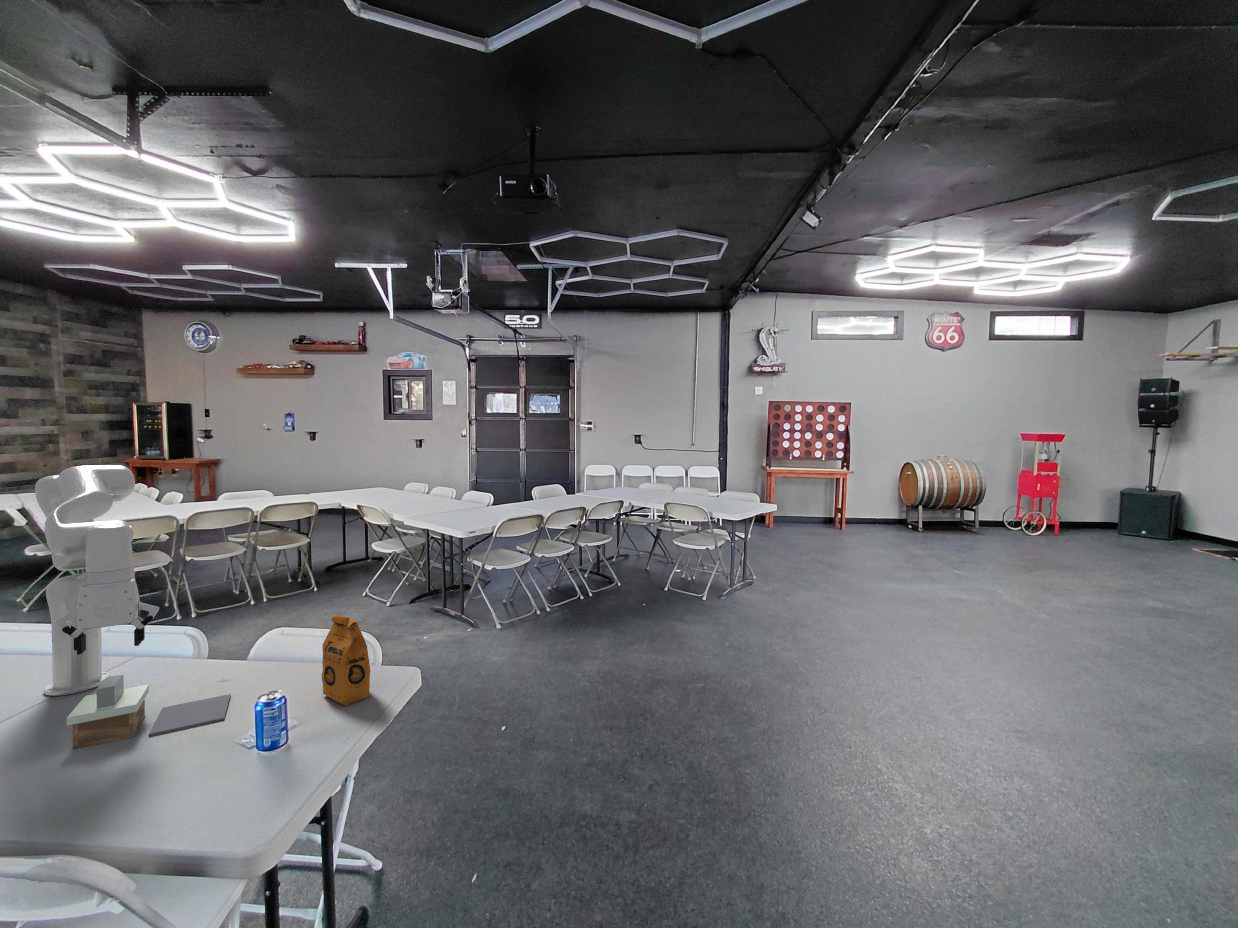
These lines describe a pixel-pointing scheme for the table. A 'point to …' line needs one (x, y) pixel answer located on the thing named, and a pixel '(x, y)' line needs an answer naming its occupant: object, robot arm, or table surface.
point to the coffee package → (345, 662)
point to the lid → (108, 701)
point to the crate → (107, 728)
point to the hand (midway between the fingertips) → (110, 648)
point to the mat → (190, 714)
